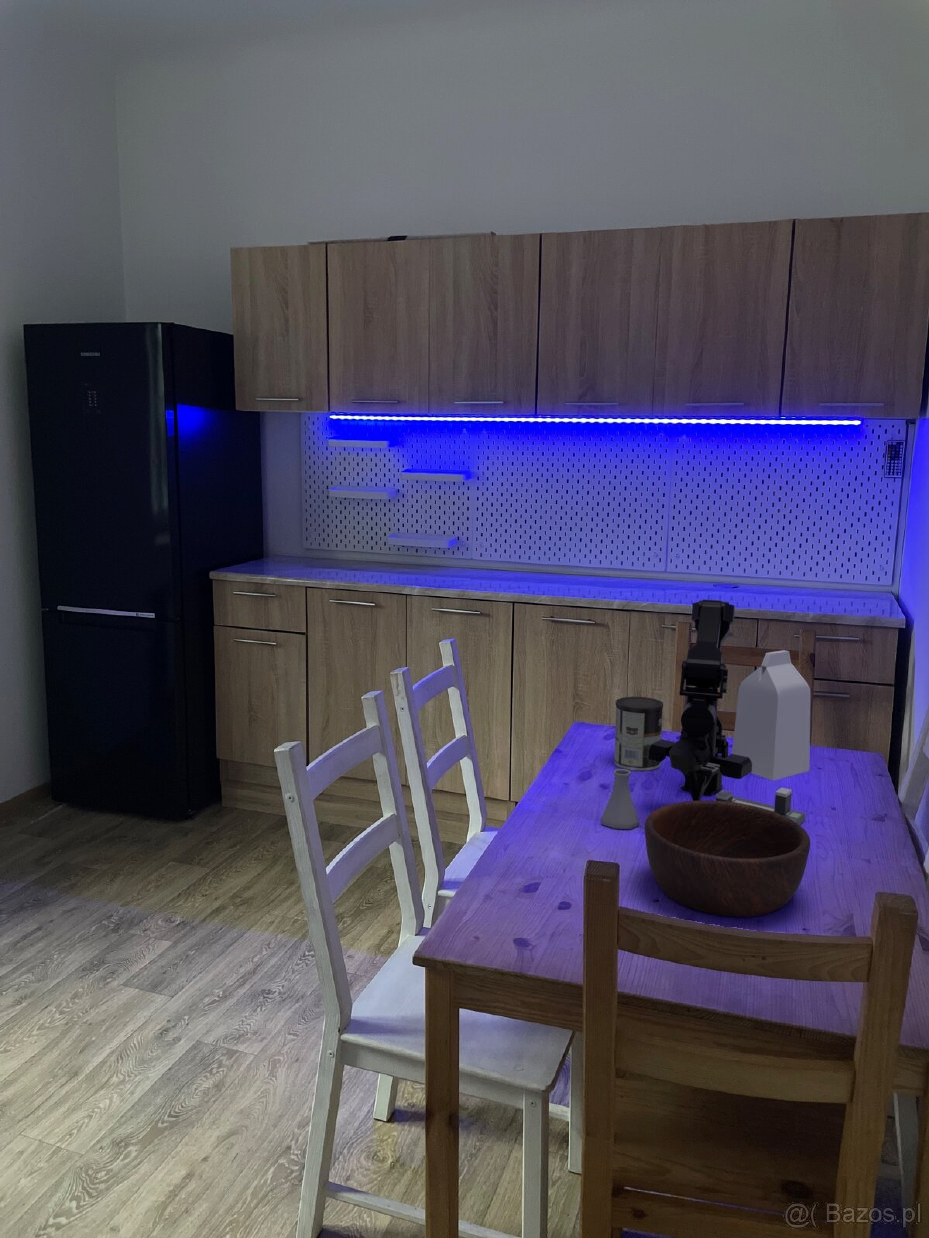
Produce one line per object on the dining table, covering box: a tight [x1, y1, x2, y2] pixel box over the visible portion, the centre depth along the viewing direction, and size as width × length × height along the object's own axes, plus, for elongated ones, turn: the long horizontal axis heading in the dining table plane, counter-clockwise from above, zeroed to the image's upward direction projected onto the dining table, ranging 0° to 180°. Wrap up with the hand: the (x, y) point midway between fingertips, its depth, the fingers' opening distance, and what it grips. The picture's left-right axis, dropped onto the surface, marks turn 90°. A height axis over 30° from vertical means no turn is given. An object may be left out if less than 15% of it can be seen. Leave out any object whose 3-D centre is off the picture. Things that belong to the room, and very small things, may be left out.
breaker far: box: [774, 787, 793, 815], centre depth 181 cm, size 2×3×4 cm, turn 142°
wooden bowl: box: [644, 799, 811, 918], centre depth 152 cm, size 25×25×10 cm
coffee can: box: [613, 696, 664, 772], centre depth 212 cm, size 10×10×14 cm
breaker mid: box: [715, 789, 734, 802], centre depth 179 cm, size 2×3×4 cm, turn 142°
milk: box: [731, 649, 811, 781], centre depth 209 cm, size 12×12×26 cm
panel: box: [732, 795, 806, 826], centre depth 177 cm, size 15×22×2 cm
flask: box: [600, 768, 640, 830], centre depth 179 cm, size 7×7×10 cm
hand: (696, 801), depth 183 cm, fingers closed
